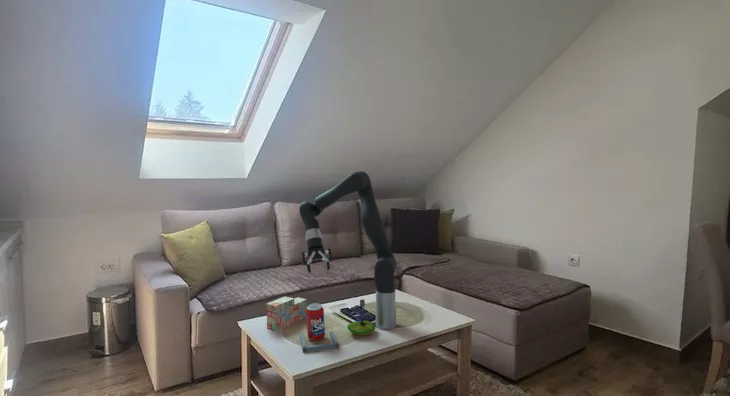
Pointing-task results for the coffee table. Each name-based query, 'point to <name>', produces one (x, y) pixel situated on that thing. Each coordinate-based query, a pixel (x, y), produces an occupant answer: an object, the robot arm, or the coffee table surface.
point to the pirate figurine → (361, 323)
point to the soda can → (315, 321)
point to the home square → (322, 346)
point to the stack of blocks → (285, 312)
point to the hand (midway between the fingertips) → (319, 271)
